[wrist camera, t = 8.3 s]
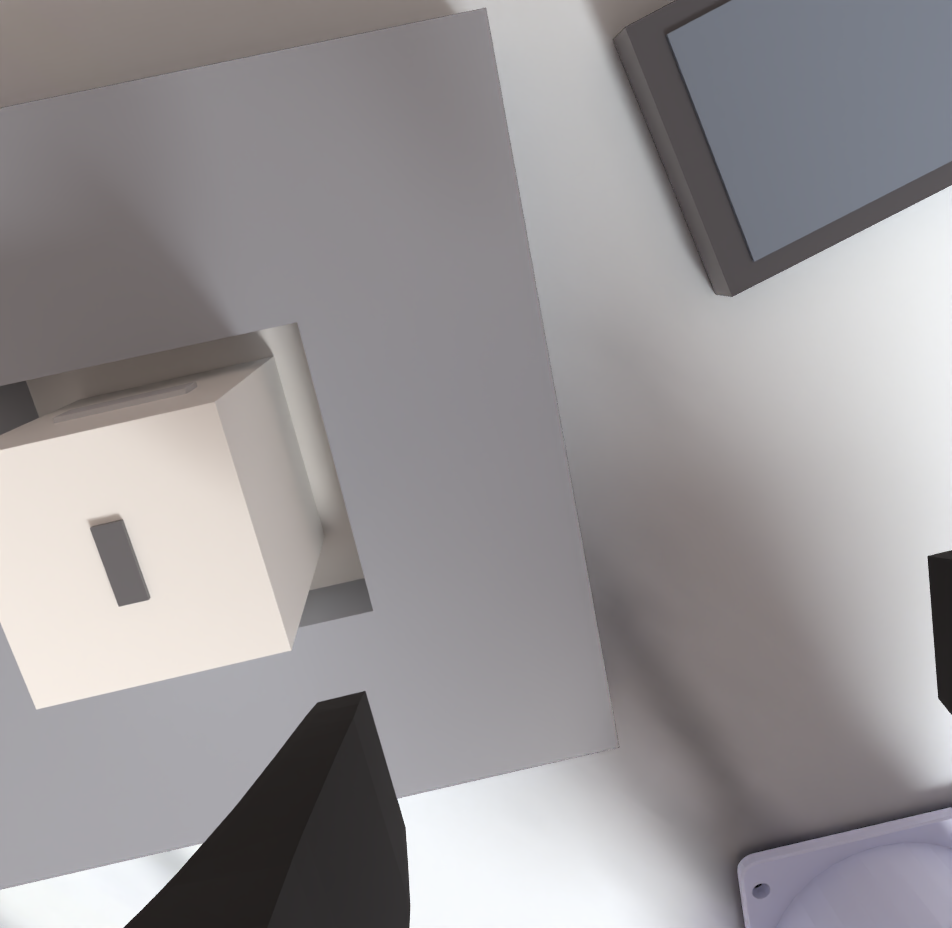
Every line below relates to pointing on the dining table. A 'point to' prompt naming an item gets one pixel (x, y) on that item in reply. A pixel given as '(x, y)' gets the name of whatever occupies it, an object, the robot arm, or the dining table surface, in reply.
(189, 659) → the brick
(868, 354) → the dining table surface
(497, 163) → the socket plate
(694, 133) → the tablet with stylus
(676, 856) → the dining table surface
